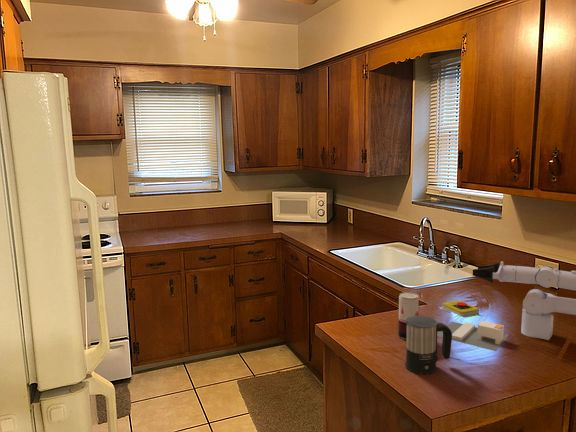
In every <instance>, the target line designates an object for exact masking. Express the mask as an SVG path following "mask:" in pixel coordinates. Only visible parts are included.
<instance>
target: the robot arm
mask: <svg viewBox="0 0 576 432" xmlns="http://www.w3.org/2000/svg"><path fill="white" fill-rule="evenodd" d="M472 276H473V277H475V278H476V277H477V278H479V279H483V280H486V281H488V282H489V283H491V284H493V283H494V280H498V281H499V282H501V283H503V282H508V283H518V284H519V283H520V284H528V285H530V284H531V285H532V284H533V285H540V286H541V287H543V288H546V289H547V288H548V289H549V288H551V287H555V288H560V289H564V290H565V289H566V290H571V291H576V270H571V271H567V270H559V268H557V267H555V268H553V267H550V266H548V265H543V266H541V267H534V266H533V267H532V266H522V265H508V264H504V261H500V262H495V263H492V264H489V265H488V264H486V265H479V266H477V268H474V269H472ZM552 313H559V314H560V313H561V314H566V315H573V316H576V298H571V297H563V296H556V295H554V294H553V293H548V292H545V291H543V290H541V289H537V288H533V289H530V290H528V292H527V293H526V296H525V298H524V299H523V301H522V313H521V329H520V333H521V334H523V335H524V336H526V337H530V338H537V339H542V340H546V341H550V339H551V338H552V336H553V334H554V333H553V329H554V315H553V314H552Z"/></svg>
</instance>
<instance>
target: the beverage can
mask: <svg viewBox="0 0 576 432" xmlns="http://www.w3.org/2000/svg"><path fill="white" fill-rule="evenodd" d="M419 299H420V298H419V295H418V294H417V293H415V292H407V291H405V292H401V293H399V296H398V330H397V331H398V332H397V333H398V337H399V338H401V339H402V340H406V341H407V324H406V319H407V318H408V317H411V316H419V306H420V305H419Z"/></svg>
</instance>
